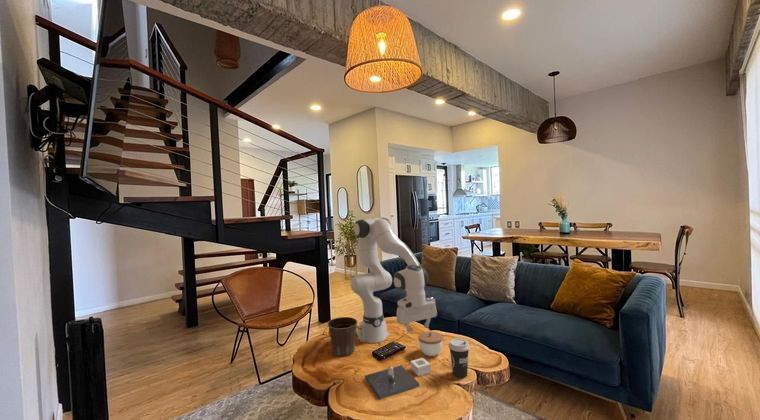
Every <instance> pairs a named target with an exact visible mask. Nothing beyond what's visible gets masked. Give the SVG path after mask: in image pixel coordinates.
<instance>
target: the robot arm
mask: <svg viewBox="0 0 760 420" xmlns="http://www.w3.org/2000/svg"><path fill="white" fill-rule="evenodd" d="M353 224H354V225H353V232H354V235H355V236H356V237H357V238H358V255H359V263H360V264H361V266H363V267H365V268H368V269H369V272H368V273H362V274H358V275H355V276H352V278H351V280H350V283H349V284H350V285H349V286H350V289H351V290H352V292H353V293H355V295H356V294H357V296H359V298H360V299H361V301H362V305H363V315H362V320H361V322H359V326H357V329H356V333H355V334H357V335H356V336H357V338H358V341H359V342H362V343H369V344H376V343H381V342H383V341H385V340H386V339H387V338H388V336H390V333H389V331H388V330H387V323H386V321H385V320H384V312H383V302H382V300H381V298H379V297H378V296H375V295H374V292H377V291H378V292H379V291H382V290H386V289H388V288H390V287H391V286H392V283H393V286H394V288H396V290H398V291H401V292H403V291H405V292H406V296H404V297H403V298H401V299H398V301H397V309H396V321H397V323H398V324H400V325H404V326H405V328H406V331H407V332H408V333H411V332H412V327H410V326H409V325H410V323H414V322H419V321H422V320H423V321H424V320H426V321H425V323H424V324H423V325H424V328H425V329H428V328H429V327H430V325H429V324H430V323H431V321H432V320H431V319H432V318H436V317H437V316H438V311H437V306H436V299H435V298H434V297H431V296H430V297H426V291H425V287H426V286H427V284H428V282H429V274H428V272H427V270H426V269H425V268H424V267H423V266H422V265H421V264H420V262H419V260H418V259H417V257H416V256H415V254H414V253H413V252H412V250H411V249H410V248H409V246H408V244H406V243H405V242H404V241H402V240H401V239H400V238H399V237H398V236H397V235H396V232H395V230H394V228H393V227H392V225H391V222H390V220H389V219H388V218H386V217H371V218H365V219H359V220H356V221H355V223H353ZM378 248H379V249H380V250H381V252H383V253H385V254H390V255H395V256H398V257H400V258H402V259H403V260H404V262H405V263H406V265H407V266H405V268H404V269H402V270H399V271H397V272H395V273H394V275H393V277H392V275H391V274H390V272H389V271H387V270H386V269H385V268H384V267H383V266H382V264H381V262H380V259H379V251H378Z"/></svg>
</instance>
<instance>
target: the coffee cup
mask: <svg viewBox="0 0 760 420" xmlns="http://www.w3.org/2000/svg"><path fill="white" fill-rule="evenodd" d="M448 348H449V354H450V361H451V368H452V369H451V371H452V375H453V376H454V377H456V378H459V379H463V378H466V377H467V376H468V371H469V370H468V369H469V366H468V365H469V351H470V349H471V348H470V344H469V343H468V341H467V340H466V339H465V338H457V337H456V338H452V339H451V340H450V341H449V343H448Z"/></svg>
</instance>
